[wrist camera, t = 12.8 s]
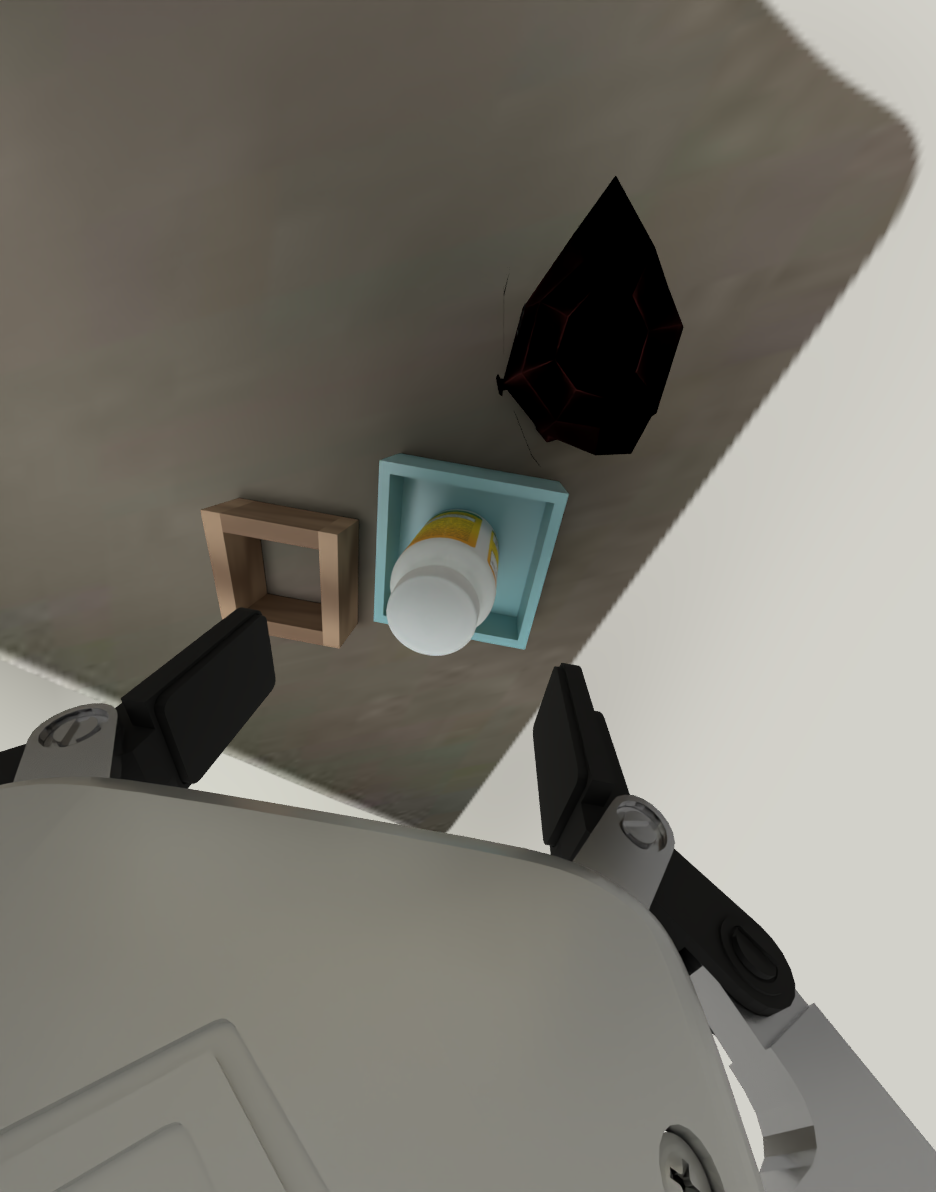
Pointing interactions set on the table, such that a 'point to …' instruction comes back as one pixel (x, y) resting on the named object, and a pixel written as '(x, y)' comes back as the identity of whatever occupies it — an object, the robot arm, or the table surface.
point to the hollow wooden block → (243, 577)
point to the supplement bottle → (444, 583)
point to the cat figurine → (596, 335)
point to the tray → (503, 499)
